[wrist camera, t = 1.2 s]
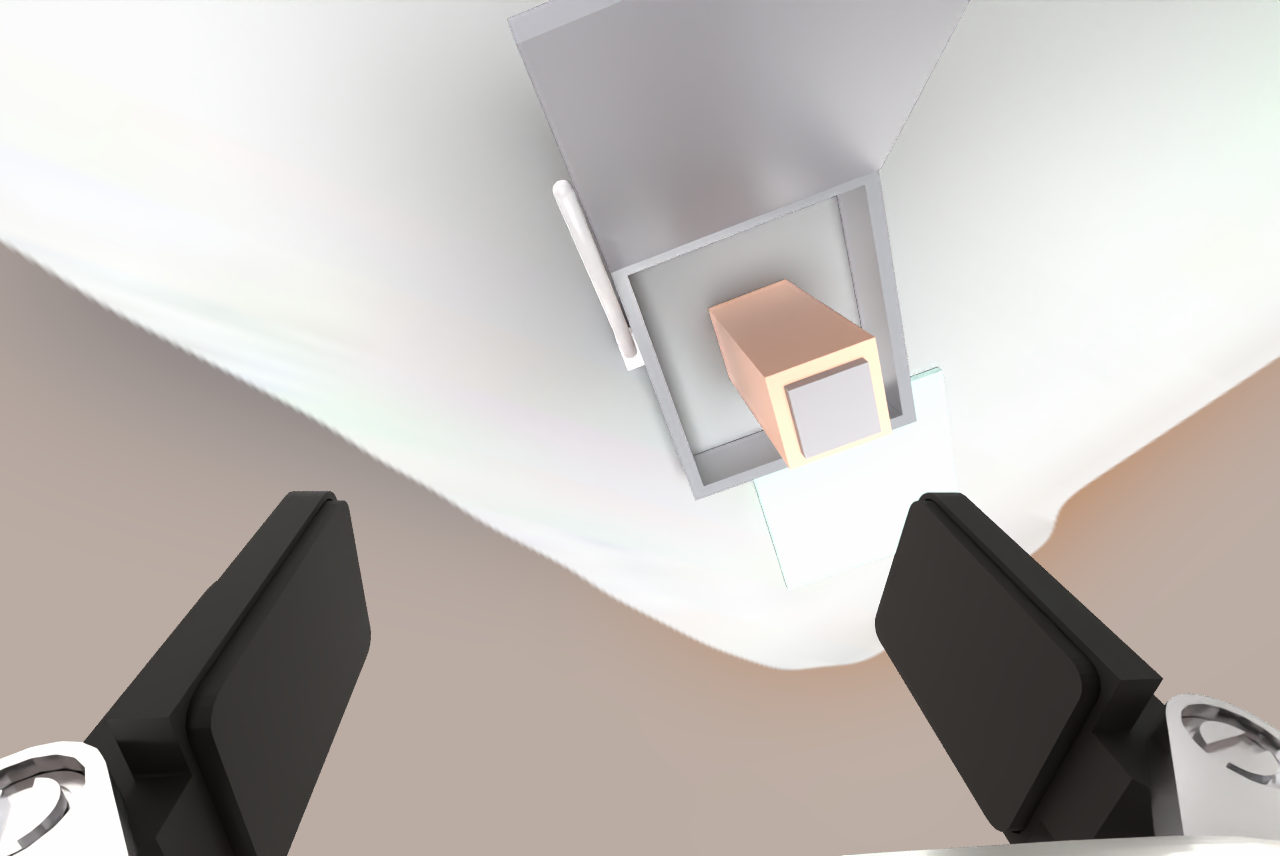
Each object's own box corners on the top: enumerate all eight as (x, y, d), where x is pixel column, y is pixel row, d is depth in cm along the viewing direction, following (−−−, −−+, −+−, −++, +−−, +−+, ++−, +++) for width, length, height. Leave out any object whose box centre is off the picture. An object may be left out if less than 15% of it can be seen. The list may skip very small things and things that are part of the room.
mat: (937, 367, 40) (942, 370, 39) (957, 525, 46) (962, 530, 46) (740, 438, 41) (742, 442, 40) (786, 585, 47) (788, 590, 46)
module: (785, 279, 36) (881, 341, 25) (802, 352, 39) (898, 439, 27) (707, 308, 37) (768, 382, 25) (729, 378, 39) (794, 476, 28)
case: (811, -33, 30) (1065, -218, 14) (886, 396, 41) (1076, 550, 25) (520, 85, 30) (469, 30, 15) (671, 474, 41) (729, 668, 26)
